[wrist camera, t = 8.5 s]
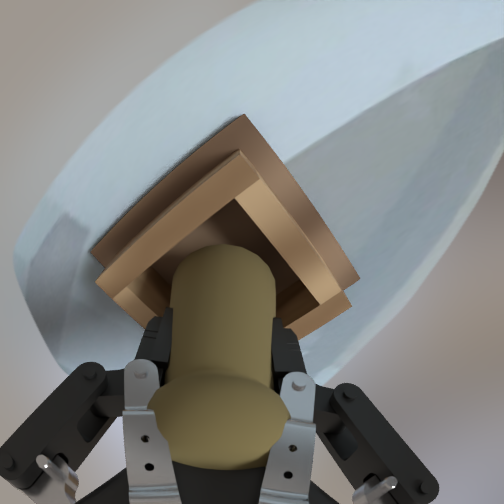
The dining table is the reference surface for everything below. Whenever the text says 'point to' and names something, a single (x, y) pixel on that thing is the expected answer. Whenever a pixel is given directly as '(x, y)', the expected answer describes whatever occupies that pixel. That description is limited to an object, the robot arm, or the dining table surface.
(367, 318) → the dining table surface
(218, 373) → the cork
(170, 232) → the shaker caddy
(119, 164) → the dining table surface
